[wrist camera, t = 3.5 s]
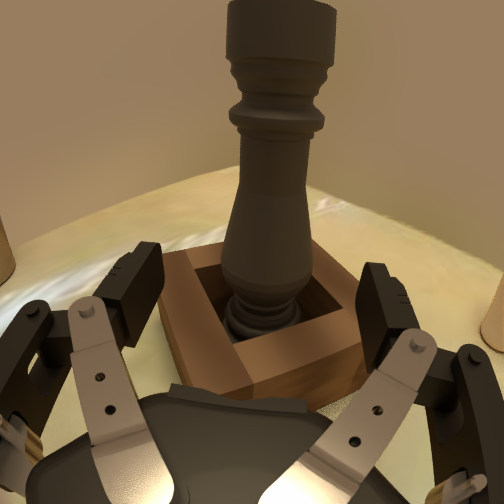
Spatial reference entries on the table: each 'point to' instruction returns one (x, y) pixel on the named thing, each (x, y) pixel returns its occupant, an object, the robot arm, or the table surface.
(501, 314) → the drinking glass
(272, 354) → the bore block
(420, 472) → the table surface
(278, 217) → the candle holder
